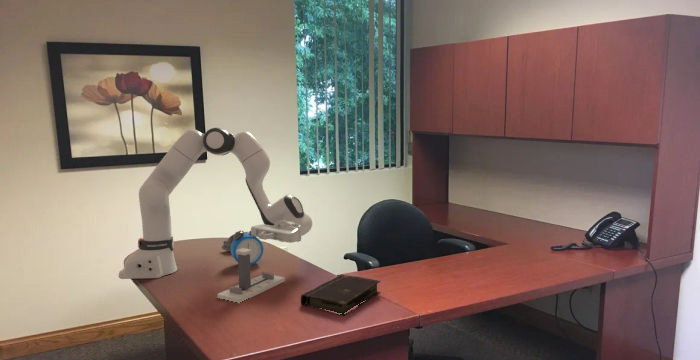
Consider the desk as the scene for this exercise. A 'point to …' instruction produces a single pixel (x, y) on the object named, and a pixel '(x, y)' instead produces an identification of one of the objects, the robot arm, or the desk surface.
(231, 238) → the mineral rock
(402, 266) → the desk surface
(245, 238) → the alarm clock
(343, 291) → the diary
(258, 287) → the console
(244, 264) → the fader tab
